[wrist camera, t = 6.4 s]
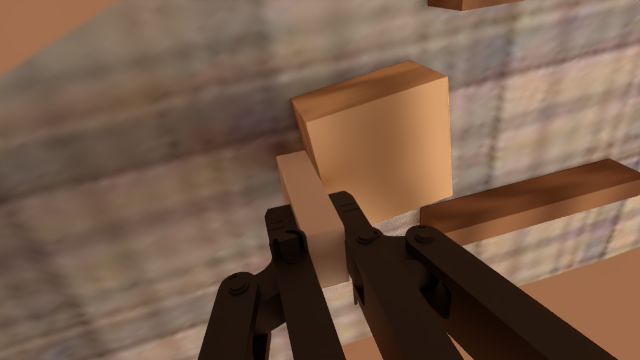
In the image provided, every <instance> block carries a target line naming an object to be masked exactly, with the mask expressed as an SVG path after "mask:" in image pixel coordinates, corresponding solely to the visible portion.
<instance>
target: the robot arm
mask: <svg viewBox="0 0 640 360" xmlns="http://www.w3.org/2000/svg"><path fill="white" fill-rule="evenodd" d="M276 160H277V165H278V170H279V175H280V180H281V185H282V190H283V195H284V201H285V204H286V205H284V206H279V207H275V208H271V209H268V210H267V212H266V215H265V222H266V227H267V232H268V236H269V246H270V250H271V254H272V260H271V262H270V264H269V265H268V266H267V267H266V268H265V269H264V270H263V271H261V272H259V273H258V274H256V275H253V274H251V273H249V272H238V273H234V274H232V275H230V276H228V277H227V278H226V279H225V280H224V281H222V283H221V285H220V286H219V289H218V292H217V296H216V299H215V302H214V306H213V309H212V313H211V316H210V319H209V323H208V326H207V330H206V333H205V336H204V340H203V343H202V347H201V350H200V353H199V357H198V360H269V351H270V343H271V331H272V330H274V329H275V328H277V327H279V326H280V325H282V324H283V323H285V322H286V324H287V329H288V334H289V339H290V344H291V348H292V353H293V358H294V360H346V358H345V355H344V352H343V350H342V347H341V344H340V341H339V338H338V335H337V332H336V329H335V326H334V323H333V320H332V318H331V315H330V312H329V309H328V306H327V303H326V300H325V297H324V294H323V291H322V288H326V287H329V286H333V285H337V284H340V283H344V282H347V281H349V274H350V276H351V279H352V283H353V294H354V303H355V305H356V304H358V303H357V300H358V302H359V305H360V307H361V309H362V312H363V314H364V316H365V319H366V321H367V323H368V325H369V328H370V330H371V332H372V335H373V337H374V339H375V341H376V344H377V346H378V348H379V351H380V353H381V355H382V358H383V360H464V359H463V357H462V356H461V354H460V353H459V351H458V350H457V348H456V347H455V345H454V343H453V342H452V340H451V339H450V337H449V336H448V334H449V335H450V336H451V337H452V338H453V339H454V340H455V341H456V342H457V343H458V344H459V345H460V346H461V347H462V348H463V349H464V350H465V351H466V352H467V353H468V354H469V355H470V356H471V357H472V358H473V359H474V360H618V359H616V358H615V357H613V356H612V355H611V354H609V353H608V352H607V351H605V350H604V349H602V348H601V347H600V346H598V345H597V344H595V343H594V342H593V341H591V340H590V339H589V338H587V337H586V336H584V335H583V334H582V333H580V332H579V331H578V330H576V329H575V328H573V327H572V326H571V325H569V324H568V323H567V322H565V321H564V320H562V319H561V318H560V317H558V316H557V315H555V314H554V313H553V312H551V311H550V310H549V309H547V308H546V307H544V306H543V305H542V304H540V303H539V302H538V301H536V300H535V299H533V298H532V297H531V296H529V295H528V294H526V293H525V292H524V291H522V290H521V289H519V288H518V287H517V286H515V285H514V284H513V283H511V282H510V281H509V280H507V279H506V278H504V277H503V276H502V275H500V274H499V273H497V272H496V271H495V270H493V269H492V268H491V267H489V266H488V265H486V264H485V263H484V262H482V261H481V260H480V259H478V258H477V257H475V256H474V255H473V254H471V253H470V252H469V251H467V250H466V249H464V248H463V247H462V246H460V245H459V244H457V243H456V242H455V241H453V240H452V239H451V238H449V237H448V236H446V235H445V234H444V233H442V232H441V231H440V230H438V229H436V228H434V227H432V226H428V225H416V226H413V227H411V228H409V229H408V230H407V232H406V234H405V236H386V235H383V233H382V232H381V231H380V230H379V229H376V228H374V227H372V226H371V224H370V222H369V221H368V219H367V218H366V216H365V214H364V213H363V211H362V210H361V209H360V206H359V205H358V203H357V202H356V200H355V198H354V197H353V195H351V194H350V193H348V192H346V191H345V190H344V191H340V192H336V193H331V194H327V192H326V190H325V188H324V186H323V184H322V182H321V180H320V179H319V177H318V175H317V173H316V171H315V169H314V167H313V165H312V163H311V161H310V159H309V157H308V155H307V153H306V151H305V150H304V151H299V152H294V153H290V154H285V155H280V156H276ZM446 332H447V333H448V334H447V333H446Z"/></svg>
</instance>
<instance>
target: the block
mask: <svg viewBox="0 0 640 360" xmlns="http://www.w3.org/2000/svg"><path fill="white" fill-rule="evenodd" d="M290 99H291V103H292V106H293V110H294V113H295V117H296V120H297V124H298V127H299V131H300V134H301V137H302V141H303V144H304V148H305V151H306V153H307V155H308V157H309V159H310V161H311V163H312V165H313V167H314V169H315V171H316V173H317V175H318V177H319V179H320V180H321V182H322V184H323V186H324V188H325V190H326V192H327V194H331V193H336V192H340V191H344V190H345V191H346V192H348V193H350V194H351V195H353V197H354V198H355V200H356V202H357V203H358V205H359V206H360V209H361V210H362V211H363V213H364V214H365V216H366V218H367V219H368V221H369V222H370V224H371V225H373V224H375V223H378V222H381V221H384V220H386V219H389V218H392V217H395V216H397V215H400V214H403V213H406V212H408V211H411V210H414V209H417V208H419V207H422V206H425V205H428V204H430V203H433V202H436V201H439V200H441V199H444V198H447V197H450V196H452V171H451V146H450V121H449V96H448V76H446V75H443V74H441V73H439V72H437V71H434V70H432V69H430V68H427V67H425V66H423V65H421V64H418V63H416V62H414V61H411V60H409V61H406V62H403V63H400V64H396V65H393V66H390V67H387V68H384V69H381V70H378V71H374V72H371V73H368V74H365V75H362V76H359V77H356V78H353V79H349V80H346V81H343V82H340V83H337V84H334V85H331V86H328V87H324V88H321V89H318V90H315V91H312V92H309V93H306V94H303V95H299V96H296V97H293V98H290Z"/></svg>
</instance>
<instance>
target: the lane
mask: <svg viewBox="0 0 640 360" xmlns="http://www.w3.org/2000/svg"><path fill="white" fill-rule="evenodd" d="M518 1H523V0H428V6H433V7H440V8H446V9H452V10H459V11H465V10H471V9H476V8H482V7H488V6H494V5H500V4H506V3H512V2H518ZM638 195H640V172H638V171H636V170H633V169H631V168H629V167H627V166H625V165H623V164H621V163H618V162H616V161H614V160H612V159H606V160H603V161H599V162H595V163H591V164H587V165H584V166H580V167H576V168H572V169H568V170H564V171H561V172H557V173H553V174H549V175H545V176H541V177H538V178H534V179H530V180H526V181H522V182H519V183H515V184H511V185H507V186H503V187H499V188H496V189H492V190H488V191H484V192H480V193H476V194H473V195H469V196H465V197H461V198H457V199H454V200H450V201H446V202H442V203H438V204H434V205H431V206H427V207H423V208H421V213H420V225H428V226H432V227H434V228H436V229H438V230H440V231H441V232H442V233H444V234H445V235H446V236H448V237H449V238H451V239H452V240H453V241H455V242H456V243H457V244H459V245H460V246H463V245H467V244H470V243H474V242H477V241H481V240H484V239H488V238H491V237H495V236H498V235H502V234H505V233H509V232H512V231H516V230H519V229H523V228H526V227H530V226H533V225H537V224H540V223H544V222H547V221H551V220H554V219H558V218H561V217H565V216H568V215H572V214H575V213H579V212H582V211H586V210H589V209H593V208H596V207H600V206H603V205H607V204H610V203H614V202H617V201H621V200H624V199H628V198H631V197H635V196H638Z"/></svg>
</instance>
